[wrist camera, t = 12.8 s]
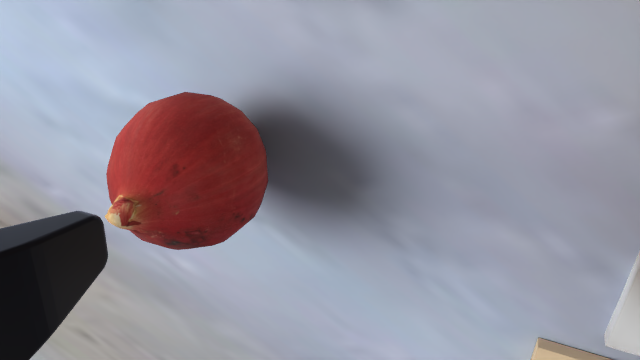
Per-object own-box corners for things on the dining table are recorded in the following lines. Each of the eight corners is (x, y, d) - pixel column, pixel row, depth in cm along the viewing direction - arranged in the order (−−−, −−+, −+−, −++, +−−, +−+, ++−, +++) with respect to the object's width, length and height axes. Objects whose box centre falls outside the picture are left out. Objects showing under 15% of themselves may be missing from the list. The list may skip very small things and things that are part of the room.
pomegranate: (318, 184, 23) (222, 295, 16) (214, 204, 26) (96, 307, 19) (269, 55, 21) (139, 120, 15) (163, 91, 24) (13, 159, 17)
